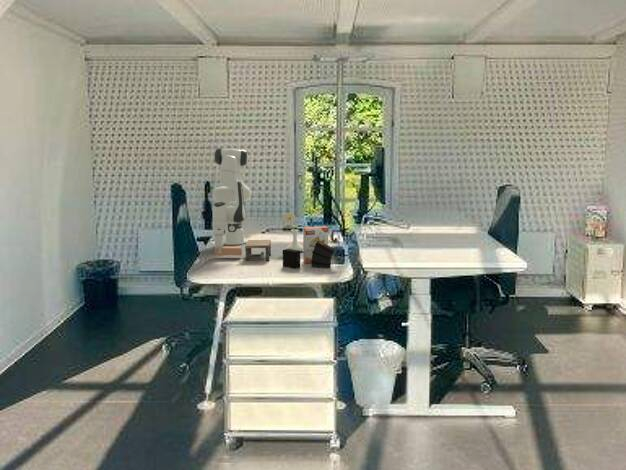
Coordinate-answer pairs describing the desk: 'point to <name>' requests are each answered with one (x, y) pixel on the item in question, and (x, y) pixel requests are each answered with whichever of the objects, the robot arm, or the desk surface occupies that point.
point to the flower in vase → (294, 245)
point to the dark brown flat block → (322, 255)
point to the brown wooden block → (229, 250)
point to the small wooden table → (258, 244)
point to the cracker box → (313, 240)
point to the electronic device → (291, 258)
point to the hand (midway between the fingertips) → (221, 251)
